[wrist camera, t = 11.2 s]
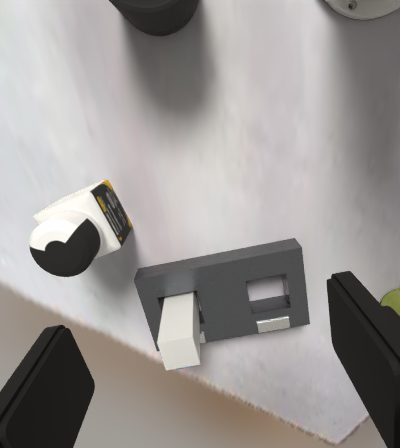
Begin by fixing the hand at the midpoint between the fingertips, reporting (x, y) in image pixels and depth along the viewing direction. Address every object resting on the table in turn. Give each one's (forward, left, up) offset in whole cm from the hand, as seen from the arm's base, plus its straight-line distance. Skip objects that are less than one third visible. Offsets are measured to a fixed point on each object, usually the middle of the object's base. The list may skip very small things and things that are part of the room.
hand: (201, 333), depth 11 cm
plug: (+6, +17, -29) cm, 35 cm away
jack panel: (0, +17, -29) cm, 34 cm away
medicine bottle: (+14, +2, -30) cm, 33 cm away
